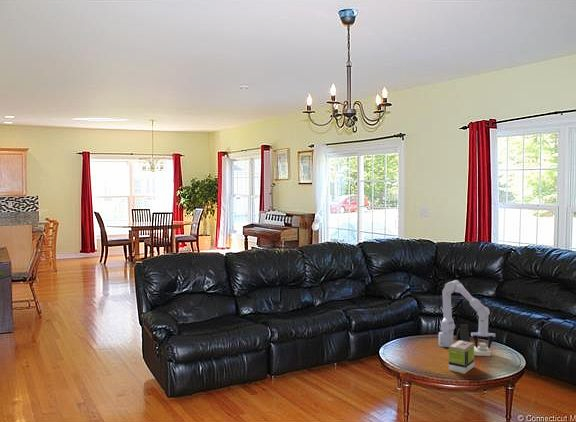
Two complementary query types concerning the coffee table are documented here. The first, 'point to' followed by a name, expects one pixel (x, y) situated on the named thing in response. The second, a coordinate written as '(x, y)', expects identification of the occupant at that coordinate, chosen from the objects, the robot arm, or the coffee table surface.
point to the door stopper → (463, 333)
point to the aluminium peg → (483, 346)
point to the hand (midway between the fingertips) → (482, 347)
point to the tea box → (461, 356)
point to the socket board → (481, 352)
